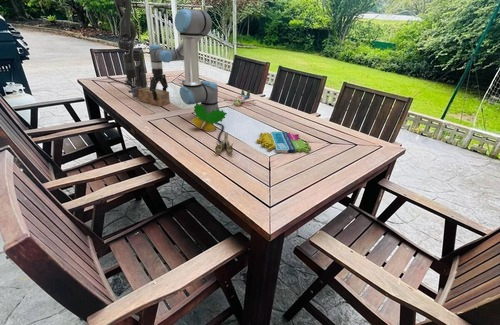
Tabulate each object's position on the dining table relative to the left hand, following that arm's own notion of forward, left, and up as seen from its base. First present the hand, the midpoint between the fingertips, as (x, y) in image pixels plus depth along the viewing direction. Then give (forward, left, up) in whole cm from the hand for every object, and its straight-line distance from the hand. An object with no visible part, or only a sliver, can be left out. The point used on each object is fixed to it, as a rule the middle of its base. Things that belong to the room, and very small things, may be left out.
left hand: (133, 91), depth 208 cm
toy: (+40, +77, -6) cm, 87 cm away
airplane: (-23, +59, -6) cm, 63 cm away
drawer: (+9, +5, -4) cm, 11 cm away
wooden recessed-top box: (+18, +11, -5) cm, 22 cm away
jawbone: (+116, +21, -6) cm, 118 cm away
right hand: (+22, +14, -1) cm, 27 cm away
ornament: (+84, +27, -6) cm, 88 cm away
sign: (+121, +56, -6) cm, 133 cm away
